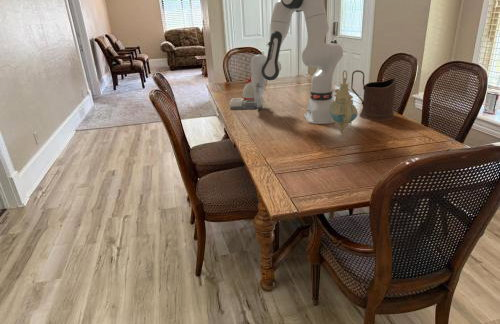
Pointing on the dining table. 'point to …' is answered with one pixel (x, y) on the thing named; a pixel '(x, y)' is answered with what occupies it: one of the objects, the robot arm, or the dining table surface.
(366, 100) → the brown pitcher
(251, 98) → the kitchen timer
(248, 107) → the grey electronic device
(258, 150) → the dining table surface
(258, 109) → the cell
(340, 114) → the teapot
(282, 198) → the dining table surface
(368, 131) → the dining table surface
